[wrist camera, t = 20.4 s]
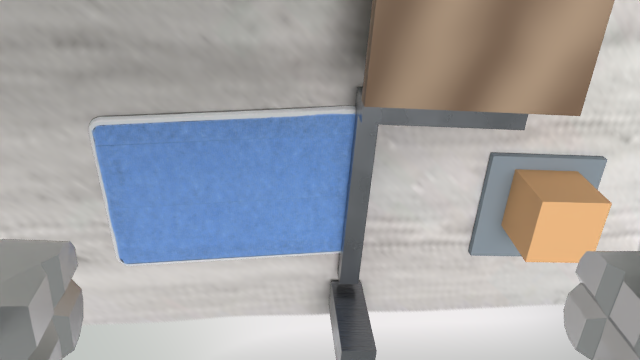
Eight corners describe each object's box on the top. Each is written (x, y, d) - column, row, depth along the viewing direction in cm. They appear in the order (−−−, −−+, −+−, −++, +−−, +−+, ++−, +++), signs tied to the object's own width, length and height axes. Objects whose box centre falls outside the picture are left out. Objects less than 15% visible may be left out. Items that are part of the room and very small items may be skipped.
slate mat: (468, 251, 48) (470, 255, 47) (491, 152, 44) (493, 155, 43) (571, 253, 49) (574, 257, 48) (603, 156, 45) (607, 159, 44)
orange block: (501, 225, 46) (525, 261, 42) (515, 169, 44) (542, 201, 39) (560, 226, 47) (591, 262, 42) (577, 171, 44) (611, 203, 40)
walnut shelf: (348, 67, 40) (364, 106, 33) (364, -101, 35) (387, -97, 28) (528, 76, 41) (580, 115, 34) (568, -85, 36) (637, -77, 29)
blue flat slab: (362, 102, 42) (364, 108, 40) (359, 246, 47) (361, 256, 46) (88, 113, 40) (83, 120, 39) (120, 260, 46) (116, 270, 45)
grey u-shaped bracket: (328, 305, 49) (338, 377, 42) (350, 87, 40) (367, 131, 33) (463, 306, 50) (494, 376, 43) (512, 94, 41) (562, 139, 34)
